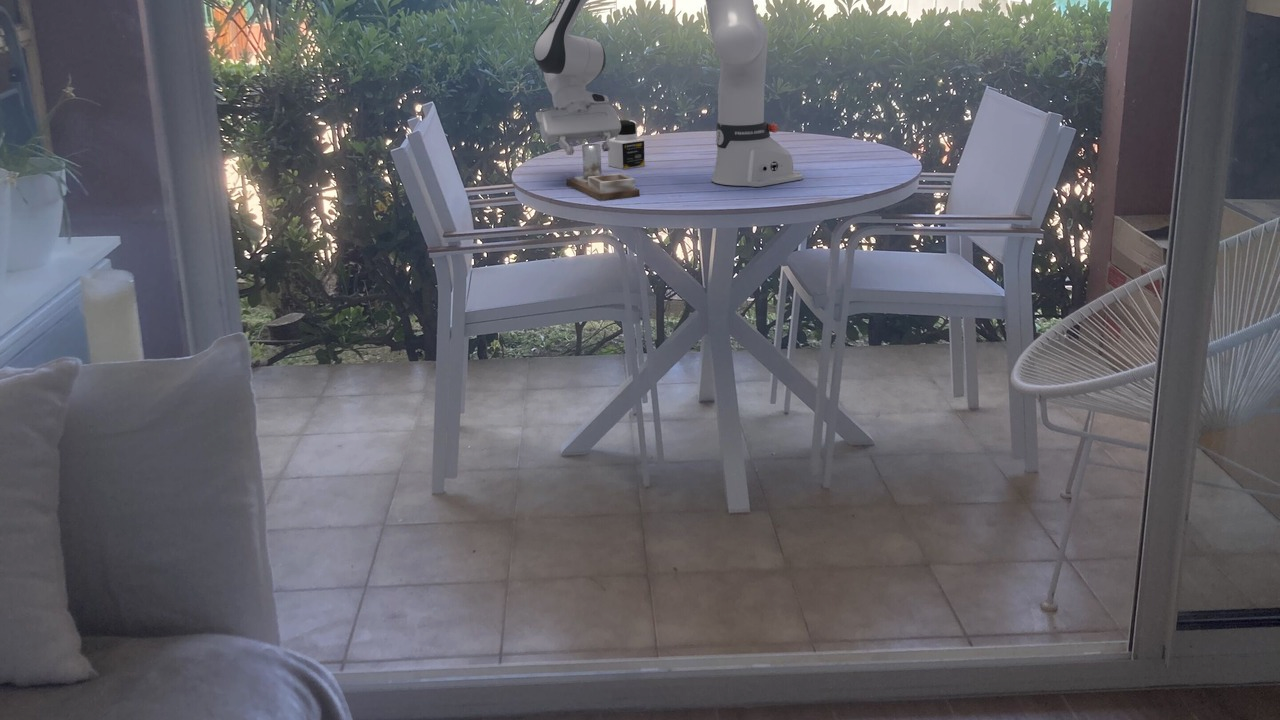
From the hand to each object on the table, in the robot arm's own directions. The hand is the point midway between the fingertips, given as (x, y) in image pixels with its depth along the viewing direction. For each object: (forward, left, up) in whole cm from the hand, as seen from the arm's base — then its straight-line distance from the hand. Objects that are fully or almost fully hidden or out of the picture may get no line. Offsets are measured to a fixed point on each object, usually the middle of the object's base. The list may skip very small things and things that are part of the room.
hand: (588, 151), depth 277 cm
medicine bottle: (-18, -19, -8) cm, 28 cm away
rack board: (0, +8, -8) cm, 11 cm away
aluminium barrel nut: (0, +2, -6) cm, 6 cm away
